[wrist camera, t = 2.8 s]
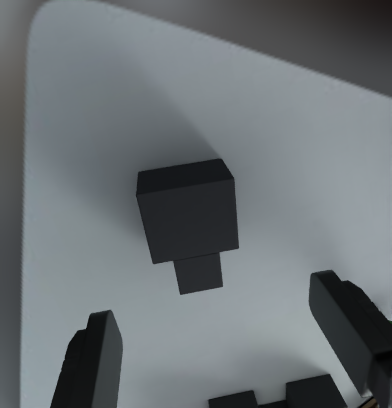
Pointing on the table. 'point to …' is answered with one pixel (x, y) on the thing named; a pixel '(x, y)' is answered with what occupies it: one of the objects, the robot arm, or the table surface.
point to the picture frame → (371, 404)
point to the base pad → (291, 396)
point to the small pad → (190, 220)
